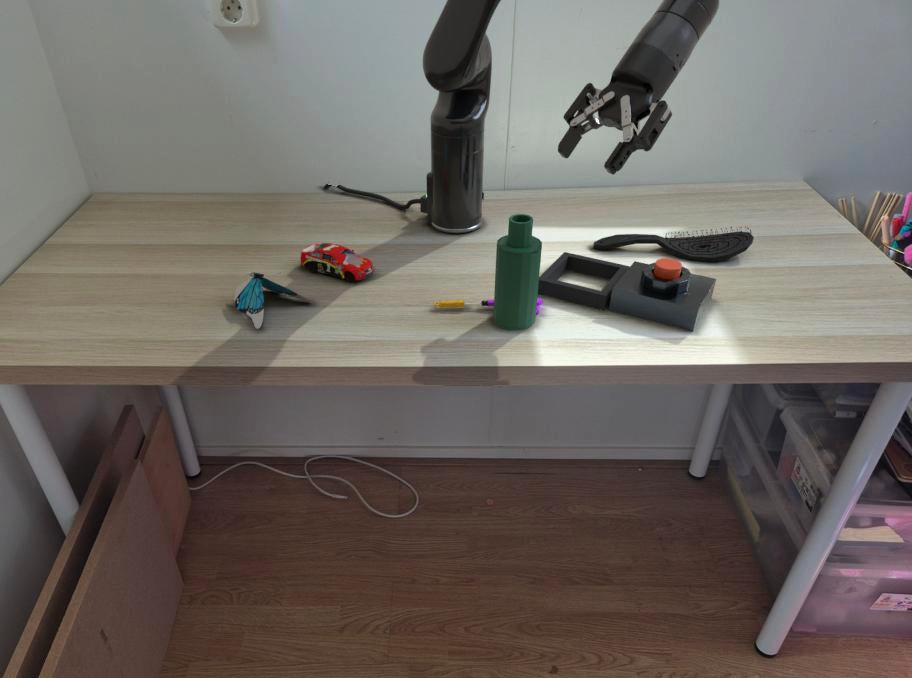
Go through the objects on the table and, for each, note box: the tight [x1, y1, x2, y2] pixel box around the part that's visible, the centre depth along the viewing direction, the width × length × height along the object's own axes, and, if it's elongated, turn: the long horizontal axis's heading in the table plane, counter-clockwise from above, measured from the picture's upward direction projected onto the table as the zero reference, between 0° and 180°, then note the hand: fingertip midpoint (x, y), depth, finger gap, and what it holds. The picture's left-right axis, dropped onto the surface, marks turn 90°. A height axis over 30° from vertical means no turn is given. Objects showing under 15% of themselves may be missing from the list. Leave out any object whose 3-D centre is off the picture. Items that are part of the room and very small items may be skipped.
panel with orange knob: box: [608, 260, 717, 333], centre depth 102 cm, size 12×10×6 cm
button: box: [653, 257, 683, 279], centre depth 100 cm, size 4×4×2 cm
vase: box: [492, 213, 543, 331], centre depth 97 cm, size 6×6×16 cm
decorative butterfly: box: [234, 271, 313, 330], centre depth 107 cm, size 10×6×10 cm
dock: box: [538, 251, 631, 311], centre depth 108 cm, size 11×11×2 cm
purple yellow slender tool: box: [434, 297, 544, 314], centre depth 104 cm, size 3×1×16 cm
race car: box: [299, 242, 374, 283], centre depth 116 cm, size 13×5×4 cm, turn 57°
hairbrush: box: [593, 225, 754, 263], centre depth 117 cm, size 8×4×25 cm
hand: (584, 162), depth 96 cm, fingers open, 8 cm apart
